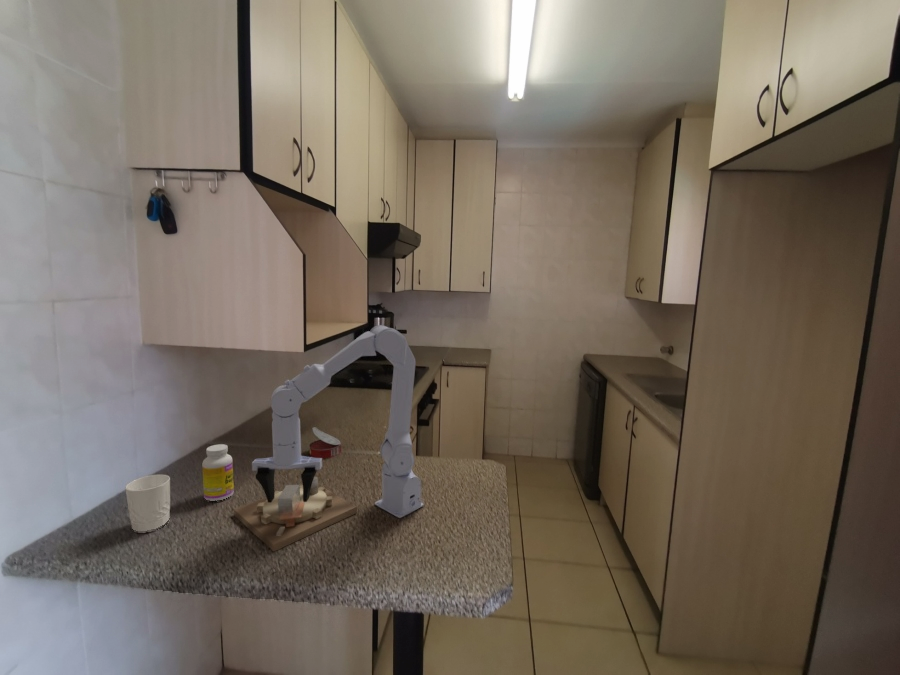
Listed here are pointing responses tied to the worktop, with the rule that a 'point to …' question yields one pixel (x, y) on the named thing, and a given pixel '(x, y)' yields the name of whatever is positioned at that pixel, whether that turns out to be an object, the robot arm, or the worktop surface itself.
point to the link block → (289, 500)
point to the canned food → (324, 445)
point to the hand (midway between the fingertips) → (288, 500)
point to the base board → (282, 535)
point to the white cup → (149, 502)
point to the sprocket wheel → (303, 510)
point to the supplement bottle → (217, 473)
